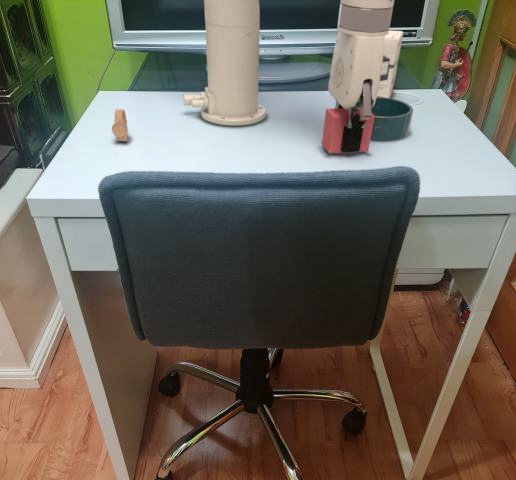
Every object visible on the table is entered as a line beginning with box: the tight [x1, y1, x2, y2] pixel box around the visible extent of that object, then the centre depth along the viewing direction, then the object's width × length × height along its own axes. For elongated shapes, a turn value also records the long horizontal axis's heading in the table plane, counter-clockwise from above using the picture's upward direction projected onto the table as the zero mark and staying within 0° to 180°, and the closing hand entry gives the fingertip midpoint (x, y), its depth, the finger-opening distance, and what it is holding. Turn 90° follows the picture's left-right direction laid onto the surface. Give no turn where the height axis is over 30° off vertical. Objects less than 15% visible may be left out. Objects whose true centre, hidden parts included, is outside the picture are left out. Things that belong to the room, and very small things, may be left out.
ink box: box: [377, 30, 404, 98], centre depth 107 cm, size 8×5×12 cm, turn 162°
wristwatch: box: [111, 108, 129, 142], centre depth 86 cm, size 3×5×5 cm, turn 4°
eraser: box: [321, 107, 375, 154], centre depth 84 cm, size 7×4×6 cm, turn 102°
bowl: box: [355, 97, 414, 142], centre depth 94 cm, size 12×12×4 cm
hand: (345, 144), depth 86 cm, fingers closed on eraser, 4 cm apart
